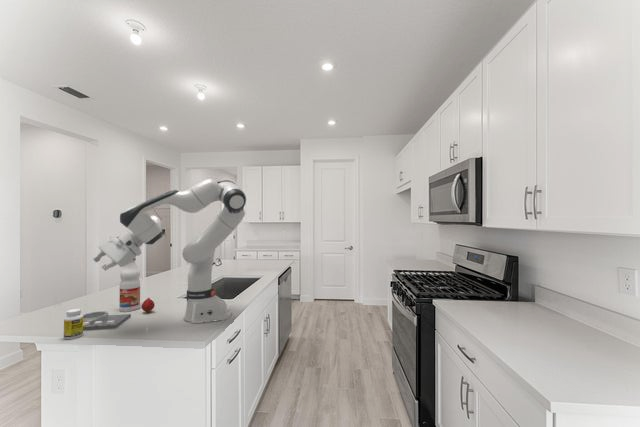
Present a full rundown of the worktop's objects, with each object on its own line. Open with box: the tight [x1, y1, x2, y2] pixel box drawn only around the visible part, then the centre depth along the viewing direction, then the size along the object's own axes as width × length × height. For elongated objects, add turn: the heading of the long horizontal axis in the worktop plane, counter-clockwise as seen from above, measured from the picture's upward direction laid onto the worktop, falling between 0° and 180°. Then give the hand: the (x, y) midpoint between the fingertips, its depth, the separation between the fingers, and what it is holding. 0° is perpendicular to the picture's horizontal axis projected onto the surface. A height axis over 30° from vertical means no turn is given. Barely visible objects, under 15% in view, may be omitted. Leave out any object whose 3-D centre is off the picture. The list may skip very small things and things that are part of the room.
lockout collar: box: [82, 310, 109, 324], centre depth 136 cm, size 10×10×2 cm
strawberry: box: [141, 297, 155, 314], centre depth 151 cm, size 6×6×8 cm
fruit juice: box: [119, 257, 141, 313], centre depth 157 cm, size 9×9×28 cm
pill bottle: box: [63, 308, 84, 340], centre depth 121 cm, size 6×6×11 cm
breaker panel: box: [83, 313, 132, 331], centre depth 136 cm, size 18×15×3 cm
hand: (98, 264), depth 124 cm, fingers open, 8 cm apart
